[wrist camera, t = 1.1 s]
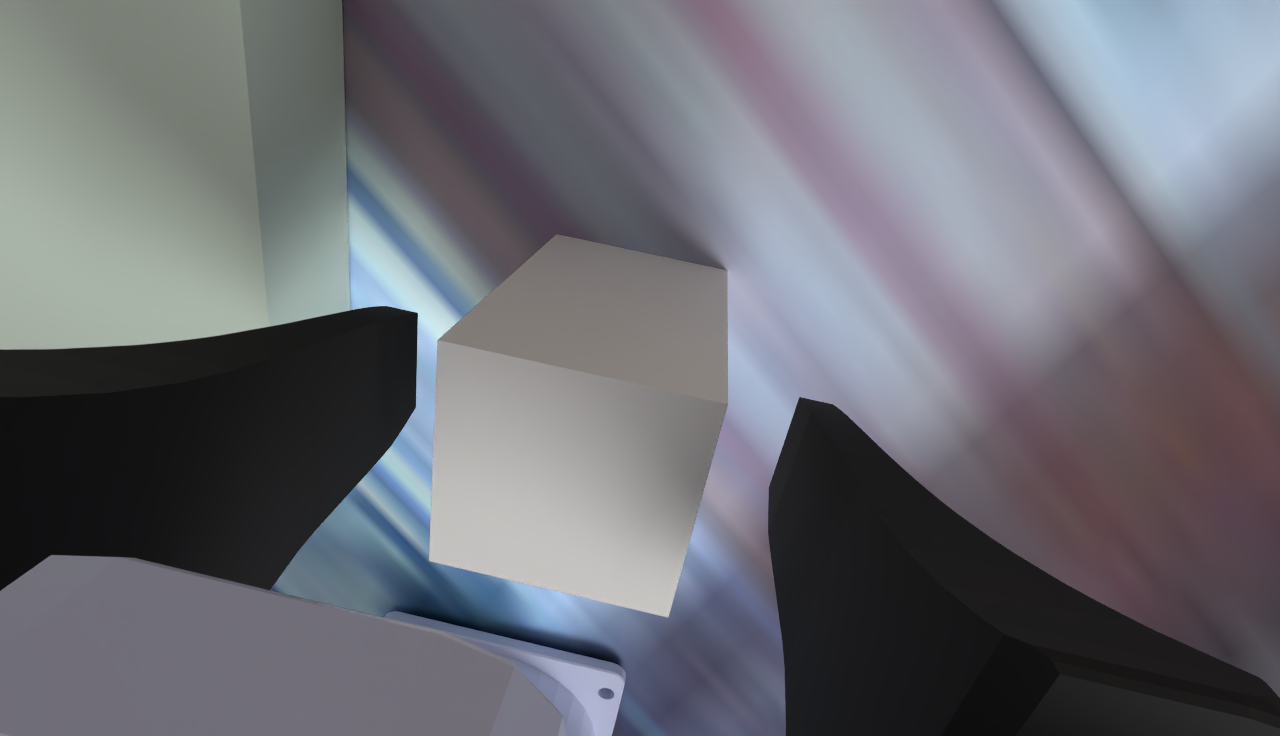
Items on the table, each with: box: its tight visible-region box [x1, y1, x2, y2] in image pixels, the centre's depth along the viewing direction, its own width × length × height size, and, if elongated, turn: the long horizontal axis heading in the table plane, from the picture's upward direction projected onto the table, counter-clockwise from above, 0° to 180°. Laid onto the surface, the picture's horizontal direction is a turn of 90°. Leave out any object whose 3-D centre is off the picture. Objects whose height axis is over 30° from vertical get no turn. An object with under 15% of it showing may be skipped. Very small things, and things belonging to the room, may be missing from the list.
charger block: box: [429, 234, 728, 617], centre depth 12 cm, size 4×4×6 cm
